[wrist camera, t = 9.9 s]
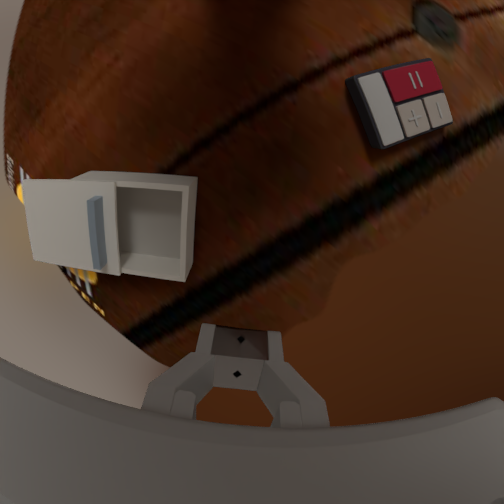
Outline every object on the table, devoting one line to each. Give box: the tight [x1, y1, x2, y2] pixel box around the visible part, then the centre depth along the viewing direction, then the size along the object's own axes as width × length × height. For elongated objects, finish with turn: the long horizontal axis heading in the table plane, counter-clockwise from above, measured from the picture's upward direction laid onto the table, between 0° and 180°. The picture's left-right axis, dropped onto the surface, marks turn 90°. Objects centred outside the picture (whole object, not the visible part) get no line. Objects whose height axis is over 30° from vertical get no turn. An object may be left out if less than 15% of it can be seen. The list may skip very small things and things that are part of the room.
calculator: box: [345, 58, 453, 149], centre depth 33 cm, size 11×4×15 cm
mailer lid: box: [23, 179, 121, 276], centre depth 35 cm, size 14×18×3 cm
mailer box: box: [71, 171, 198, 282], centre depth 40 cm, size 14×18×6 cm
